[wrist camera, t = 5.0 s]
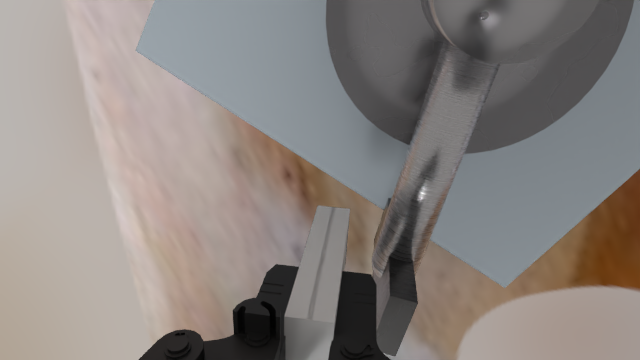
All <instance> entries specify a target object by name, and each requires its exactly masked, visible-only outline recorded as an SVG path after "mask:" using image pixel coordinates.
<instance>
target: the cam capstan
mask: <svg viewBox="0 0 640 360" xmlns="http://www.w3.org/2000/svg"><path fill="white" fill-rule="evenodd" d="M633 3H634V0H327V1H326V31H327V41H328V46H329V50H330V55H331V59H332V62H333V65H334V68H335V70H336V73H337V76H338V78H339V80H340V82H341V84H342V86H343V88H344V90H345V92H346V93H347V95H348V96H349V98H350V99H351V100H352V102H353V103H354V105H355V106H356V107H357V108H358V109H359V111H360V112H361V113H362V114H363V115H364V116H365V117H366V118H367V119H368V120H369V121H370V122H372V123H373V124H374V125H375V126H376V127H377V128H379V129H380V130H382V131H383V132H385V133H386V134H388V135H389V136H391V137H392V138H394V139H397V140H399V141H401V142H403V143H405V144H407V145H409V148H408V151H407V154H406V157H405V160H404V163H403V165H402V168H401V171H400V174H399V177H398V180H397V183H396V186H395V189H394V192H393V195H392V198H388V200H387V203H386V206H385V209H384V212H383V215H382V218H381V221H380V224H379V227H378V230H377V233H376V236H375V239H374V252H373V256H372V266H373V279H374V281H375V283H376V284H377V296H376V297H377V304H376V306H377V312H376V339H377V344H378V346H379V349H380V350H381V351H382V353H385V354H389V355H392V356H396V354H397V351H398V349H399V347H400V344H401V342H402V340H403V337H404V335H405V332H406V330H407V328H408V325H409V323H410V321H411V318H412V316H413V313H414V311H415V309H416V306H417V304H418V301H417V292H416V283H415V274H416V273H417V271H418V268H419V266H420V263H421V261H422V258H423V256H424V253H425V251H426V248H427V246H428V243H429V241H430V238H431V236H432V233H433V231H434V228H435V226H436V223H437V221H438V218H439V216H440V213H441V211H442V208H443V206H444V203H445V201H446V199H447V196H448V194H449V191H450V189H451V186H452V184H453V181H454V179H455V176H456V174H457V171H458V169H459V166H460V164H461V161H462V159H463V156H464V154H471V153H480V152H486V151H492V150H496V149H499V148H502V147H506V146H509V145H512V144H515V143H517V142H520V141H522V140H524V139H527V138H529V137H531V136H533V135H535V134H536V133H538V132H540V131H542V130H544V129H546V128H547V127H548V126H550V125H551V124H553V123H554V122H556V121H557V120H559V119H560V118H561V117H563V116H564V115H565V114H566V113H567V112H569V111H570V110H571V109H572V108H573V107H574V106H576V105H577V104H578V103H579V102H580V101H581V100H582V99H583V97H584V96H585V95H586V94H587V93H588V92H589V91H590V90H591V89H592V88H593V86H594V85H595V84H596V82H597V81H598V80H599V78H600V77H601V76H602V74H603V73H604V72H605V70H606V69H607V67H608V65H609V64H610V62H611V60H612V59H613V57H614V55H615V54H616V52H617V50H618V47H619V45H620V43H621V41H622V38H623V36H624V34H625V32H626V29H627V25H628V22H629V19H630V16H631V13H632V9H633Z"/></svg>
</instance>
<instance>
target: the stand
mask: <svg viewBox="0 0 640 360" xmlns="http://www.w3.org/2000/svg"><path fill="white" fill-rule="evenodd" d="M326 1H327V0H155V1H154V4H153V6H152V9H151V12H150V14H149V17H148V19H147V22H146V25H145V27H144V30H143V32H142V35H141V38H140V40H139V43H138V46H137V48H136V51H137V52H138V53H140V54H141V55H143V56H144V57H146V58H148V59H149V60H151V61H152V62H154V63H155V64H157V65H159V66H160V67H162V68H163V69H165V70H166V71H168V72H169V73H171V74H173V75H174V76H176V77H177V78H179V79H180V80H182V81H183V82H185V83H187V84H188V85H190V86H191V87H193V88H194V89H196V90H197V91H199V92H201V93H202V94H204V95H205V96H207V97H208V98H210V99H211V100H213V101H215V102H216V103H218V104H219V105H221V106H222V107H224V108H225V109H227V110H229V111H230V112H232V113H233V114H235V115H236V116H238V117H239V118H241V119H243V120H244V121H246V122H247V123H249V124H250V125H252V126H254V127H255V128H257V129H258V130H260V131H261V132H263V133H264V134H266V135H268V136H269V137H271V138H272V139H274V140H275V141H277V142H278V143H280V144H282V145H283V146H285V147H286V148H288V149H289V150H291V151H292V152H294V153H296V154H297V155H299V156H300V157H302V158H303V159H305V160H306V161H308V162H310V163H311V164H313V165H314V166H316V167H317V168H319V169H320V170H322V171H324V172H325V173H327V174H328V175H330V176H331V177H333V178H334V179H336V180H338V181H339V182H341V183H342V184H344V185H345V186H347V187H349V188H350V189H352V190H353V191H355V192H356V193H358V194H359V195H361V196H363V197H364V198H366V199H367V200H369V201H370V202H372V203H373V204H375V205H377V206H378V207H380V208H381V209H383V210H384V209H385V206H386V203H387V200H388V198H392V195H393V192H394V189H395V186H396V183H397V180H398V177H399V174H400V171H401V168H402V165H403V163H404V160H405V157H406V154H407V151H408V148H409V145H407V144H405V143H403V142H401V141H399V140H397V139H394V138H392V137H391V136H389V135H388V134H386V133H385V132H383V131H382V130H380V129H379V128H377V127H376V126H375V125H374V124H373V123H372V122H370V121H369V120H368V119H367V118H366V117H365V116H364V115H363V114H362V113H361V112H360V111H359V109H358V108H357V107H356V106H355V105H354V103H353V102H352V100H351V99H350V98H349V96H348V95H347V93H346V92H345V90H344V88H343V86H342V84H341V82H340V80H339V78H338V76H337V73H336V70H335V68H334V65H333V62H332V59H331V55H330V50H329V46H328V41H327V31H326ZM639 169H640V0H634V3H633V9H632V13H631V16H630V19H629V22H628V25H627V29H626V32H625V34H624V36H623V38H622V41H621V43H620V45H619V47H618V50H617V52H616V54H615V55H614V57H613V59H612V60H611V62H610V64H609V65H608V67H607V69H606V70H605V72H604V73H603V74H602V76H601V77H600V78H599V80H598V81H597V82H596V84H595V85H594V86H593V88H592V89H591V90H590V91H589V92H588V93H587V94H586V95H585V96H584V97H583V99H582V100H581V101H580V102H579V103H578V104H577V105H576V106H574V107H573V108H572V109H571V110H570V111H569V112H567V113H566V114H565V115H564V116H563V117H561V118H560V119H559V120H557V121H556V122H554V123H553V124H551V125H550V126H548V127H547V128H546V129H544V130H542V131H540V132H538V133H536V134H535V135H533V136H531V137H529V138H527V139H524V140H522V141H520V142H517V143H515V144H512V145H509V146H506V147H502V148H499V149H496V150H492V151H486V152H480V153H471V154H464V156H463V159H462V161H461V164H460V166H459V169H458V171H457V174H456V176H455V179H454V181H453V184H452V186H451V189H450V191H449V194H448V196H447V199H446V201H445V203H444V206H443V208H442V211H441V213H440V216H439V218H438V221H437V223H436V226H435V228H434V231H433V233H432V236H431V238H430V240H431V241H433V242H434V243H436V244H437V245H439V246H440V247H442V248H444V249H445V250H447V251H448V252H450V253H451V254H453V255H454V256H456V257H458V258H459V259H461V260H462V261H464V262H465V263H467V264H468V265H470V266H472V267H473V268H475V269H476V270H478V271H479V272H481V273H482V274H484V275H486V276H487V277H489V278H490V279H492V280H493V281H495V282H496V283H498V284H500V285H501V286H503V287H504V288H505V287H506V286H508V285H509V284H510V283H511V282H512V281H513V280H514V279H515V278H517V277H518V276H519V275H520V274H521V273H522V272H523V271H525V270H526V269H527V268H528V267H529V266H530V265H531V264H532V263H534V262H535V261H536V260H537V259H538V258H539V257H540V256H541V255H543V254H544V253H545V252H546V251H547V250H548V249H549V248H551V247H552V246H553V245H554V244H555V243H556V242H557V241H558V240H560V239H561V238H562V237H563V236H564V235H565V234H566V233H568V232H569V231H570V230H571V229H572V228H573V227H574V226H575V225H577V224H578V223H579V222H580V221H581V220H582V219H583V218H585V217H586V216H587V215H588V214H589V213H590V212H591V211H592V210H594V209H595V208H596V207H597V206H598V205H599V204H600V203H602V202H603V201H604V200H605V199H606V198H607V197H608V196H609V195H611V194H612V193H613V192H614V191H615V190H616V189H617V188H619V187H620V186H621V185H622V184H623V183H624V182H625V181H626V180H628V179H629V178H630V177H631V176H632V175H633V174H634V173H636V172H637V171H638V170H639Z"/></svg>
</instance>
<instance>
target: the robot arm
mask: <svg viewBox="0 0 640 360" xmlns="http://www.w3.org/2000/svg"><path fill="white" fill-rule="evenodd" d="M349 215H350V209H346V208H336V207H327V206H318V207H317V210H316V213H315V217H314V220H313V223H312V226H311V230H310V233H309V236H308V240H307V243H306V246H305V250H304V253H303V256H302V259H301V263H300V266H299V267H295V266H286V265H278V264H276V265H275V266H274V267H273V268H271V269H270V270H269V271H268V272H267V273H266V276H265V278H264V281H263V284H262V285H261V288H260V290H259V293H258V295H257V297H256V298H252V299H248V300H245V301H243V302H241V303H240V304H238V305H237V306H236V307H235V309H234V310H233V323H234V335H232V336H230V337H227V338H224V339H219V340H212V341H204V342H203V339H202V338H201V336H200V335H199V334H198V333H196V332H195V331H191V330H177V331H173V332H171V333H168V334H166V335H165V336H163V337H162V338H161V339H159V340H158V341H157V342H156V343H155V344H154V345H153V346H152V347H151V348H150V349H149V350H148V351H147V352H146V353H145V354H144V355H143V356H142V357H141V358H140V359H139V360H390V359H389V358H388V357H386V356H385V355H384V354H383V353H382V351H381V350H380V349H379V346H378V344H377V339H376V312H377V306H376V304H377V297H376V296H377V284H376V283H375V281H374V279H373V277H372V276H371V274H363V273H354V272H346V271H345V263H346V251H347V239H348V227H349Z"/></svg>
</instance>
